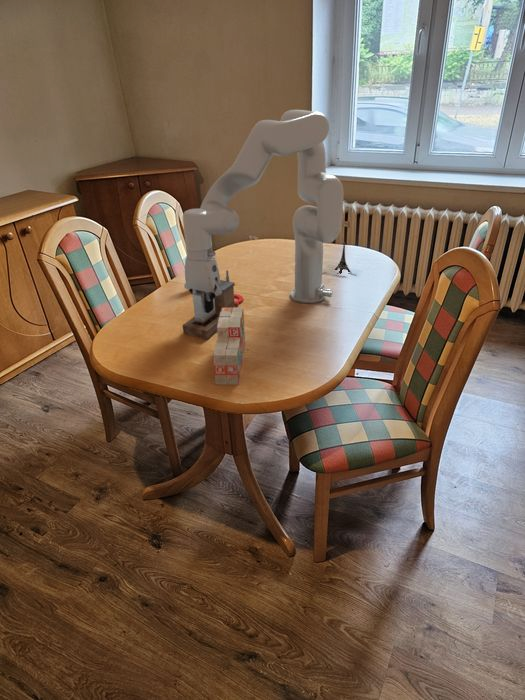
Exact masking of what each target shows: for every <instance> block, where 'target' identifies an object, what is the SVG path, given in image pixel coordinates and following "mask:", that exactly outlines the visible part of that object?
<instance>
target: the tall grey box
mask: <svg viewBox="0 0 525 700" xmlns="http://www.w3.org/2000/svg"><path fill="white" fill-rule="evenodd" d="M205 301H207V299H206V294H205V292H204V291H199V290H198V291H197V292H195V293H194V294H193V295H192V302H193V312H194V316H195V321H197V322H202V323H204V322H205V321H206V322H208V321H209V320H208V319H209V318H211V317H212V316H213V315H215V314H216V311H215V299H213V304H214V308H213V310H212V311H211V312H209V313H207V312H206V304H205ZM207 320H208V321H207ZM206 322H205V323H206ZM205 323H204V324H205Z"/></svg>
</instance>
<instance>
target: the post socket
mask: <svg viewBox="0 0 525 700" xmlns="http://www.w3.org/2000/svg"><path fill="white" fill-rule="evenodd" d="M220 283H221V286H220V288H221V290H222V294H220V295H218V296H216V297H215V298H214V299H215V311H216V314H215V315H213V316H212V317H211V318H209V319H208V320H207V321H205V322H204V323H202V322H197V321H195V315H194V316H193V317H192V318H190V319H189V320H187V321H186V322H185V323H183V324H182V331H183V332H182V333H183V334H184V335H188V336H191V337H196V338H199V339H203V340H207V341H208V340H210V338H212V337H213V336H214V335H215V334H217V325H218V320H219V317H220V312H221V309H222V308H230V307H231V308H233V307H235V303H234V301H235V298H234V294H235V292H234V291H235V288H234V286H235V283H236V282H233V281H230V280H229V281H226V280H222V279H220ZM214 292H215V289H214ZM208 321H211V322H209V323H208V324H207V325H205V326H202V325H204V324H206V323H207V322H208Z"/></svg>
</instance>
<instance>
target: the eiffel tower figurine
mask: <svg viewBox="0 0 525 700" xmlns="http://www.w3.org/2000/svg"><path fill="white" fill-rule="evenodd" d="M345 242H346V241H345V240H344V242H343V243H342V244H343V245H342V247H343V248H342V252H341V253H342V254H341V259H340V260H339V263H337V266H336V267H334V269H333V270H338V269H340V271H339V273H340V274H341V273H342V270H343V269H347V270H348V272H351V270H350V269H349V266H348V264H347V262H346V243H345Z"/></svg>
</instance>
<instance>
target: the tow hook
mask: <svg viewBox="0 0 525 700" xmlns="http://www.w3.org/2000/svg"><path fill="white" fill-rule="evenodd" d="M225 281H229V282H230V275H229V270H226V271H225ZM234 299H237V300H234V303H235V307H239V306H240V305H239V304H242V303H243V301H244V297H243V296H242V295H241V294H237V293H234Z"/></svg>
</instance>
